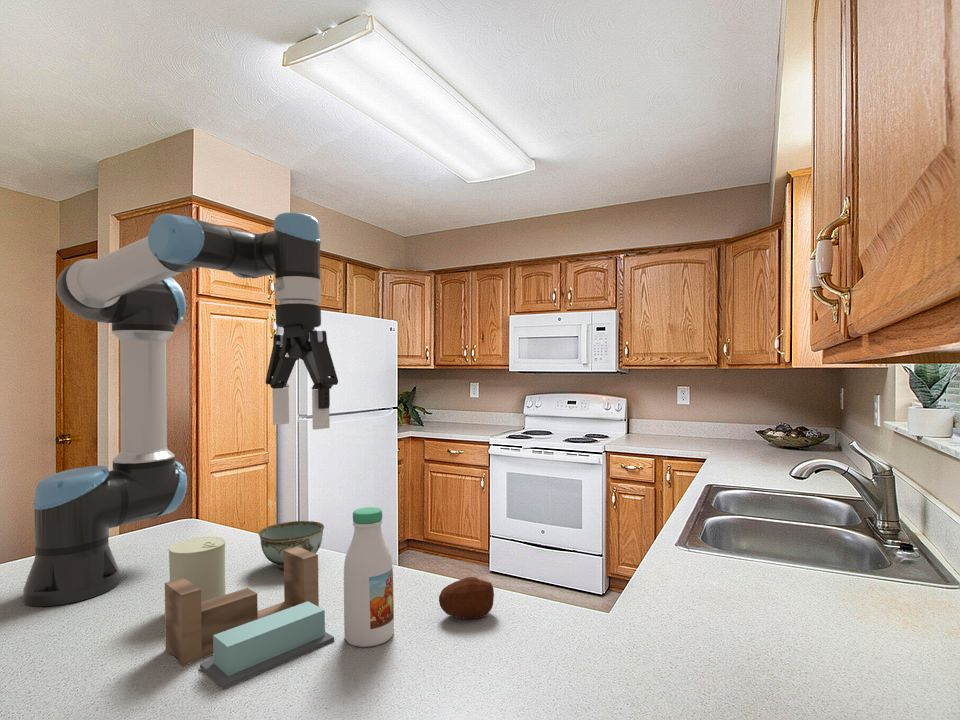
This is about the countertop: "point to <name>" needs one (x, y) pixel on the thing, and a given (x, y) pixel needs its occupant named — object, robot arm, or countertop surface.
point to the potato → (467, 598)
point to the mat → (249, 672)
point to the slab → (267, 637)
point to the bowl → (290, 539)
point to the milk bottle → (368, 582)
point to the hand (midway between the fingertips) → (300, 426)
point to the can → (200, 564)
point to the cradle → (230, 607)
